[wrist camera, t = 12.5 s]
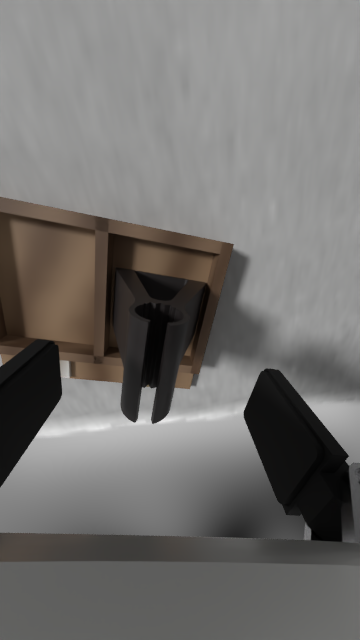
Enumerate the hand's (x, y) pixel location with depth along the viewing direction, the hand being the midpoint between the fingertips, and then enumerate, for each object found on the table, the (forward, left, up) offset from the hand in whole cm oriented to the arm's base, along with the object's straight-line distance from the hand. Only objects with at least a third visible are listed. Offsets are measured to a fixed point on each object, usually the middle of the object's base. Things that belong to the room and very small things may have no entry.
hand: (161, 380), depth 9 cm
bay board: (+6, +2, -13) cm, 15 cm away
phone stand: (+1, 0, -13) cm, 13 cm away
